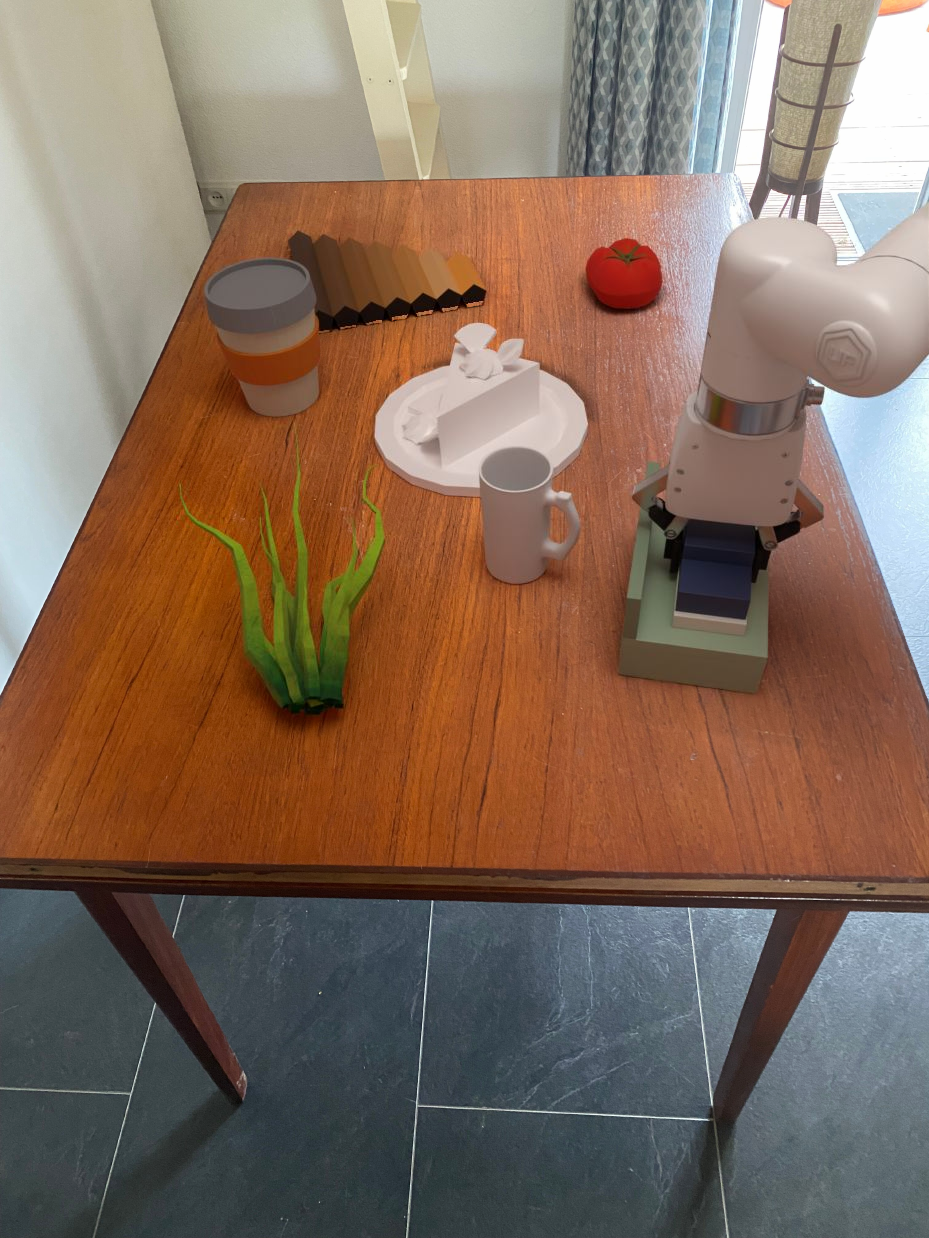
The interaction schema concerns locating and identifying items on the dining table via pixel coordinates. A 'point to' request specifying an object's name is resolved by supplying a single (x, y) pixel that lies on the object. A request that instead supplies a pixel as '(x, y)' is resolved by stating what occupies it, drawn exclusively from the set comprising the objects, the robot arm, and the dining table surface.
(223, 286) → the reusable coffee cup
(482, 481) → the mug
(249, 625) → the decorative plant
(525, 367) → the dish
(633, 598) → the sage stepped base
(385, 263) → the pan flute
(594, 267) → the tomato
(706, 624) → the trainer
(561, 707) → the dining table surface
